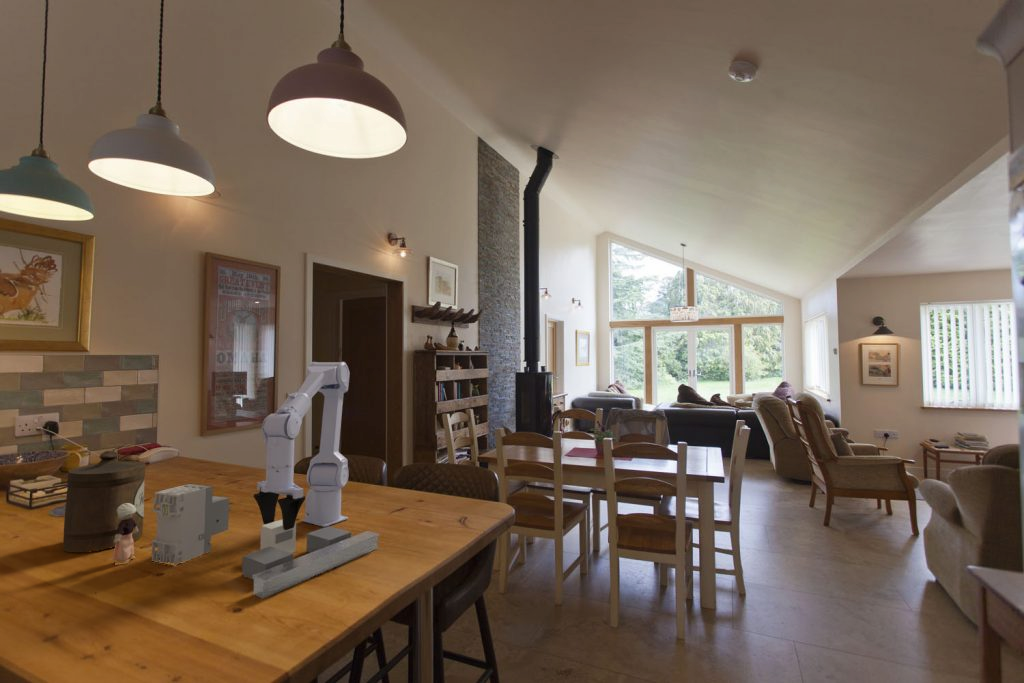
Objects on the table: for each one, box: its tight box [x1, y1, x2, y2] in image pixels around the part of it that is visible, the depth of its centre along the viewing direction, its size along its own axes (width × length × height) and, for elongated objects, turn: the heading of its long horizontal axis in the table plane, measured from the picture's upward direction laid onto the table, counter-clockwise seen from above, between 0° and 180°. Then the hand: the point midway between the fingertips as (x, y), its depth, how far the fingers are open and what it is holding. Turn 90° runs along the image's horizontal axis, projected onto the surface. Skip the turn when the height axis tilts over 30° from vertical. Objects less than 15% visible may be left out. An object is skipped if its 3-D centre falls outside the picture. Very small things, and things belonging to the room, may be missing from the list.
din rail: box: [252, 530, 380, 600], centre depth 100 cm, size 4×28×4 cm, turn 149°
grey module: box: [259, 519, 297, 554], centre depth 108 cm, size 4×6×7 cm
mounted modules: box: [241, 525, 352, 581], centre depth 104 cm, size 8×21×4 cm, turn 149°
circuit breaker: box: [150, 483, 231, 565], centre depth 110 cm, size 8×14×15 cm, turn 161°
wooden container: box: [62, 450, 146, 553], centre depth 117 cm, size 15×15×22 cm
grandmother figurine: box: [112, 503, 138, 563], centre depth 104 cm, size 8×4×13 cm, turn 23°
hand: (278, 525), depth 108 cm, fingers open, 7 cm apart
